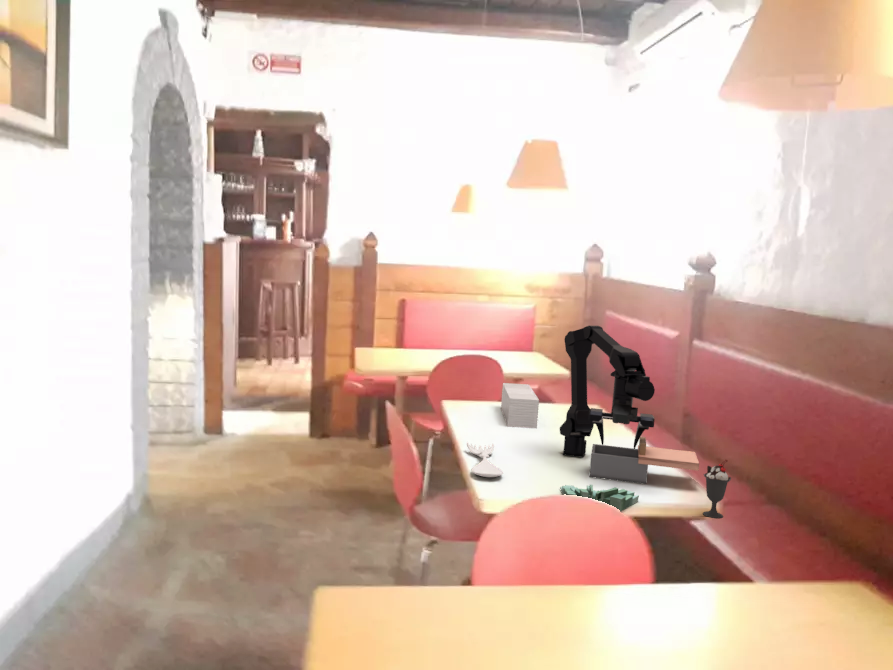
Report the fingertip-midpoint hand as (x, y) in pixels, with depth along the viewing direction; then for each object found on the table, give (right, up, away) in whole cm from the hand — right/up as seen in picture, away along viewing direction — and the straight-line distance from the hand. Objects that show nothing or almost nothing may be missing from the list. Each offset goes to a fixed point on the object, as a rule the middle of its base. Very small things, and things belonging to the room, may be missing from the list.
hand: (618, 446), depth 229 cm
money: (-10, -11, -25) cm, 29 cm away
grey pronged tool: (-39, -6, +2) cm, 40 cm away
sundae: (+17, -13, -30) cm, 37 cm away
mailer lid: (+13, -4, -3) cm, 14 cm away
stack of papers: (-23, 0, +71) cm, 74 cm away
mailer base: (0, -9, +1) cm, 9 cm away
